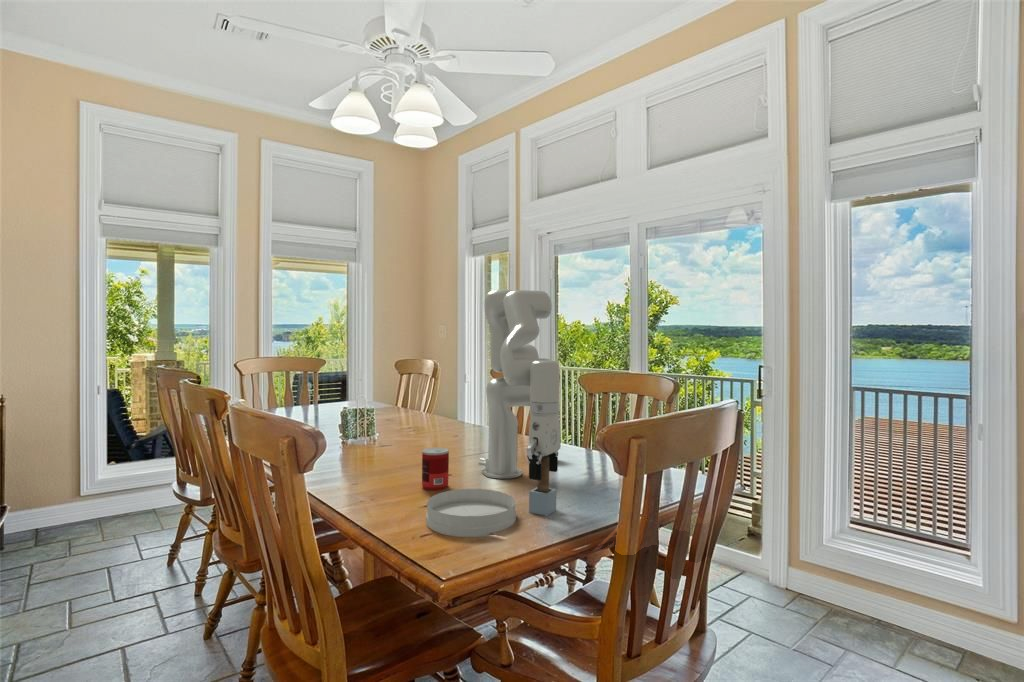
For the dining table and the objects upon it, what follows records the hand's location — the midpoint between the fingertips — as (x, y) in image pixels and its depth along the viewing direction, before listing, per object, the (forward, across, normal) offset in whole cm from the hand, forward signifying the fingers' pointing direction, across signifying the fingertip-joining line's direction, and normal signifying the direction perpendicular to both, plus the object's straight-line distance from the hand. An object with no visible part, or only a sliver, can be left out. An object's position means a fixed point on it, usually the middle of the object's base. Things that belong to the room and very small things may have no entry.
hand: (543, 475), depth 141 cm
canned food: (+10, +5, +38) cm, 40 cm away
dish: (+10, -13, +13) cm, 22 cm away
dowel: (+9, 0, 0) cm, 9 cm away
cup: (+10, 0, 0) cm, 10 cm away
